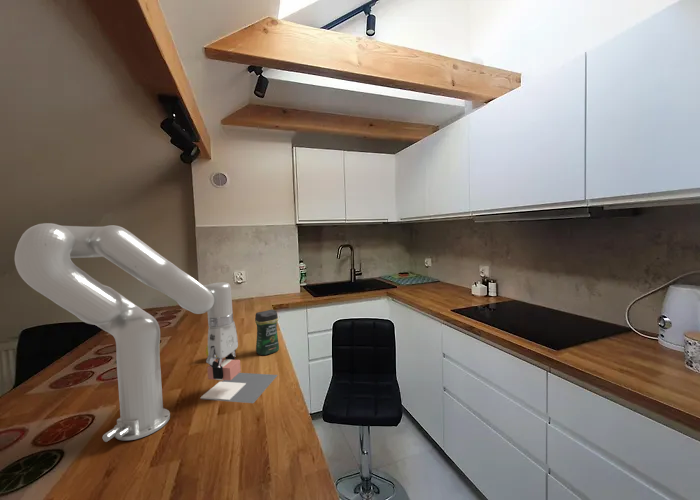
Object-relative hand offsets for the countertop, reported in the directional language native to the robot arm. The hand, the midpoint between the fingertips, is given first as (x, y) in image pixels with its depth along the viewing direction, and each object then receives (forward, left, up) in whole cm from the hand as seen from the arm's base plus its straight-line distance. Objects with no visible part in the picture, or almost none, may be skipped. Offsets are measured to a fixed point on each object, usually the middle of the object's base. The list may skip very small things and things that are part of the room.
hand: (224, 372), depth 96 cm
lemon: (+23, +21, -7) cm, 32 cm away
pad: (0, 0, -6) cm, 7 cm away
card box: (0, 0, -1) cm, 1 cm away
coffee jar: (+33, +1, -7) cm, 34 cm away
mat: (+3, -4, -6) cm, 8 cm away
